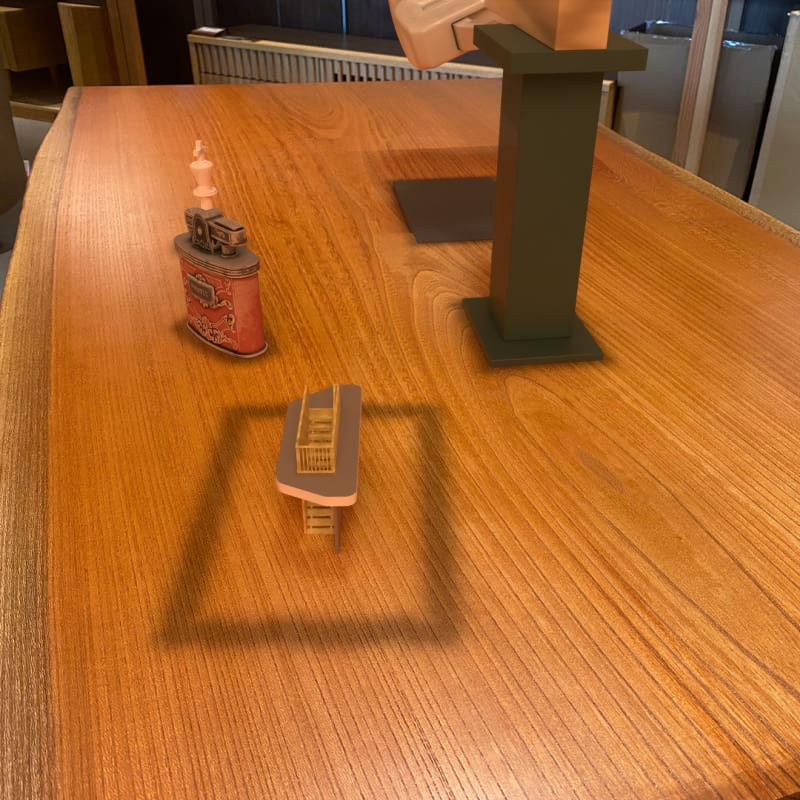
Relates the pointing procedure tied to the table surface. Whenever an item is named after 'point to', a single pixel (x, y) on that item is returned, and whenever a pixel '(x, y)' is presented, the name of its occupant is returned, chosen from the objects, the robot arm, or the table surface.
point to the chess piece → (203, 176)
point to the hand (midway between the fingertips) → (549, 13)
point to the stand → (542, 195)
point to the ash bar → (559, 21)
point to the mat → (448, 208)
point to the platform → (322, 455)
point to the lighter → (221, 284)
